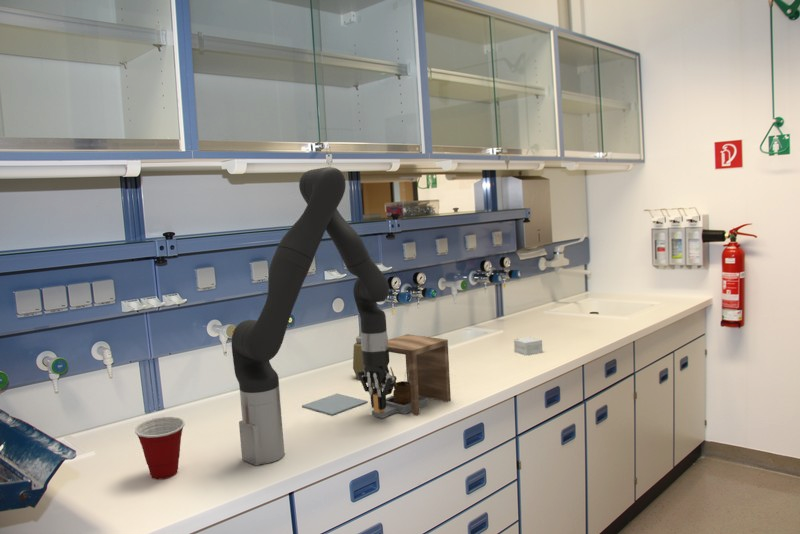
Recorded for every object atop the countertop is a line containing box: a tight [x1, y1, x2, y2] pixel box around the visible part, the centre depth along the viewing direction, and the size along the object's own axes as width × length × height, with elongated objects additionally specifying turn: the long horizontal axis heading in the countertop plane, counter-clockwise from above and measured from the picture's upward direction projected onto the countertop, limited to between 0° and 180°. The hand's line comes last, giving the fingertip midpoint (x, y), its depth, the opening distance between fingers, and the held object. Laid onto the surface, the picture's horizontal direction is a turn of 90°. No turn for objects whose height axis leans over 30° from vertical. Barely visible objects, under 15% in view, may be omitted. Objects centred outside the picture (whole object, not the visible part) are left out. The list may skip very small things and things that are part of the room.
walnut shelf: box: [380, 333, 452, 416], centre depth 183 cm, size 16×16×18 cm
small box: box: [513, 336, 543, 356], centre depth 237 cm, size 8×8×5 cm
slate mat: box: [301, 393, 369, 417], centre depth 187 cm, size 14×14×1 cm
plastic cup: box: [134, 416, 186, 480], centre depth 143 cm, size 11×11×12 cm
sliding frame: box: [371, 393, 428, 419], centre depth 179 cm, size 16×10×6 cm, turn 137°
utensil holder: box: [389, 366, 411, 405], centre depth 181 cm, size 6×6×12 cm
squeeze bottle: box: [352, 325, 365, 380], centre depth 215 cm, size 8×8×18 cm
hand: (378, 407), depth 174 cm, fingers closed on sliding frame, 2 cm apart
